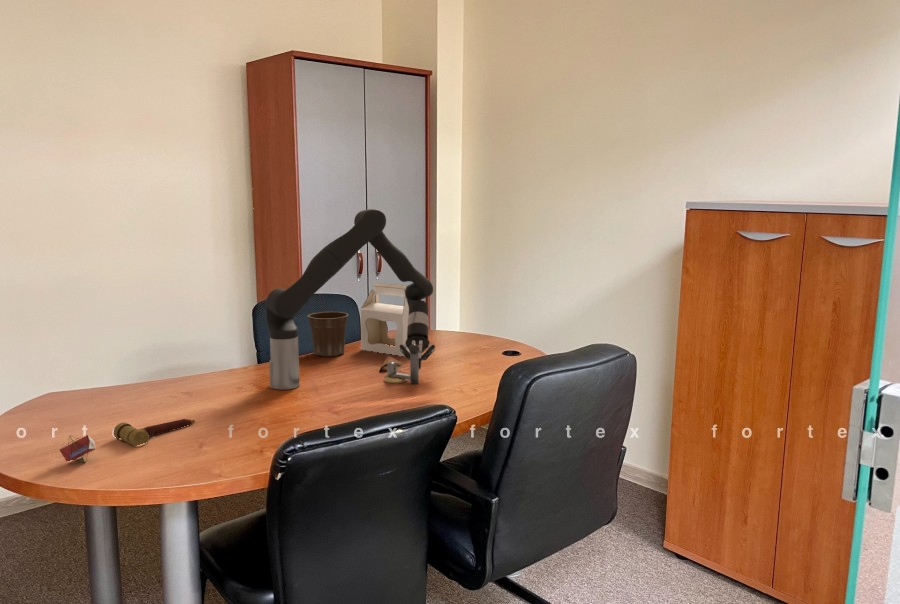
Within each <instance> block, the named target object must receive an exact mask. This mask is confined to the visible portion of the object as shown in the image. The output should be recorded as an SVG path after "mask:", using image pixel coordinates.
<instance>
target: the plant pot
mask: <svg viewBox="0 0 900 604" xmlns="http://www.w3.org/2000/svg"><path fill="white" fill-rule="evenodd" d="M348 317H349V313H346V312H343V311H342V312H341V311H321V312H313V313H310V314H308V315H307V318H308V322H309V327H310V330H311V336H312V337H311V339H312V345H313V354H314V355H315V356H317V357H318V356H321V357H327V358H328V357H336V356H340V355H344V354H345V344H346V342H345V341H346V329H347V328H346V327H347V324H348V323H347V322H348Z"/></svg>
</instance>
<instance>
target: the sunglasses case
mask: <svg viewBox="0 0 900 604" xmlns="http://www.w3.org/2000/svg"><path fill="white" fill-rule="evenodd" d="M388 362H396V363H397V372H398V371H399V370H401V368H402V366H403V364H405V362H403V361H400V360H398V359H395V358H394V357H393V356H391V355H387V356H386V357H385V359H384V361H383V362H382V364H381V366H380V368H379V373H387V363H388Z"/></svg>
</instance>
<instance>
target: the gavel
mask: <svg viewBox="0 0 900 604" xmlns="http://www.w3.org/2000/svg"><path fill="white" fill-rule="evenodd" d="M194 422H195V423H196V420H195V419H187V418H182V419H178V420H172V421H169V422H168V421H167V422H163V423H158V424H153V425H148V426H145V427H144V428H135V427H133V425H132V424H130V423H128V422H120V423H117V425H116V426H115V427H114V429H113V436H114V438H115V437H116V439H117V438H118V439H117V440H119V438H121V439H122V440H121V441H124V442H126V441H127V442H126V443H128V442H129V445H130V444H131V446H132V445H133V446H132V447H134V446H137V445H140V444H143V443H146V442H147V443H148V442H149V439H150V436H149V435H151V436H155V435H159V434H158V433H160V434H163V433H162V432H164V433H167V432H166V431H169V432H171V431H170V430H173V429H177V428H181V427H184V426H187V425H189V426H191V425H190V424H192V425H193V424H194ZM184 428H185V427H184ZM181 429H182V428H181ZM177 430H178V429H177ZM173 431H174V430H173ZM154 434H155V435H154Z"/></svg>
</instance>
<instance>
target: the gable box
mask: <svg viewBox="0 0 900 604" xmlns="http://www.w3.org/2000/svg"><path fill="white" fill-rule="evenodd" d="M407 286H408V285H405V284H397V283H395V284H394V283H385V282H375V283H374V285H372V288H373V289H369V294H368V296H367V298H366V299H365V301H364V303H363V304H362V306H361V308H360V341H361V342H360V346H361V347H360V349H361V350H362V351H365V350H366V351H365V352H371V351H373V352H372V353H377V352H379V353H378V354H383V353H386V354H385V355H389V354H392V355H391V356H395V355H398V356H397V357H401V356H404V357H405V355H404V354H403V353H402V352H401V351H400V345H403V344H405V342H406V340H407V326H408V317H409V306H408V303H407V299H406V296H405V290H406V287H407ZM379 295H385V296H396V297H397V296H398V297H402V298H404V303H403V305H401V304H392V303H383V302H380V298H379ZM387 322H393V323H395V324H396V327H397V328H396V332H395V336H394V338H391V337H389V336H388V331H389V328H388V324H387ZM385 344H387V345H389V346H387V345H385ZM390 345H393V346H395V347H390ZM407 351H408V352H409V349H408V347H407ZM409 353H410V352H409Z"/></svg>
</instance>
